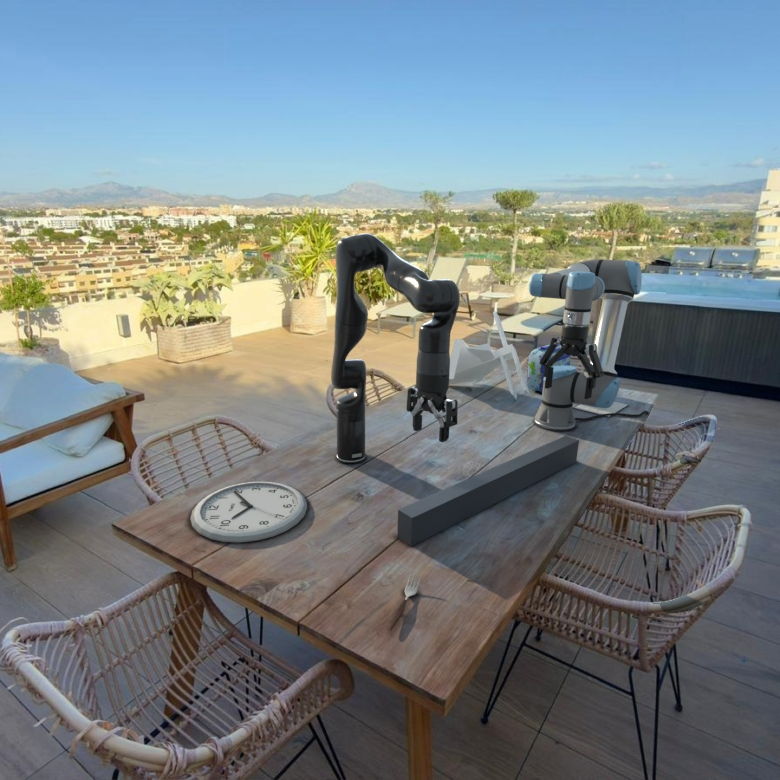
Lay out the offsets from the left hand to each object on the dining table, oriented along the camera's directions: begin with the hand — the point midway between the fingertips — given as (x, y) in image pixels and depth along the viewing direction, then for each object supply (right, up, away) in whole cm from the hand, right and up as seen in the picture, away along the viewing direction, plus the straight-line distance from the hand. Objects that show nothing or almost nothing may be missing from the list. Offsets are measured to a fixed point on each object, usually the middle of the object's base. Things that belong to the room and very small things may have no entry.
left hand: (430, 435), depth 123 cm
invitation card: (+82, +3, +103) cm, 132 cm away
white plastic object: (+32, +10, +120) cm, 125 cm away
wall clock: (-47, -21, +16) cm, 54 cm away
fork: (-7, -33, -18) cm, 38 cm away
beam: (+22, -19, +27) cm, 40 cm away
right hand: (+46, +10, +39) cm, 61 cm away
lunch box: (+66, +12, +128) cm, 144 cm away
